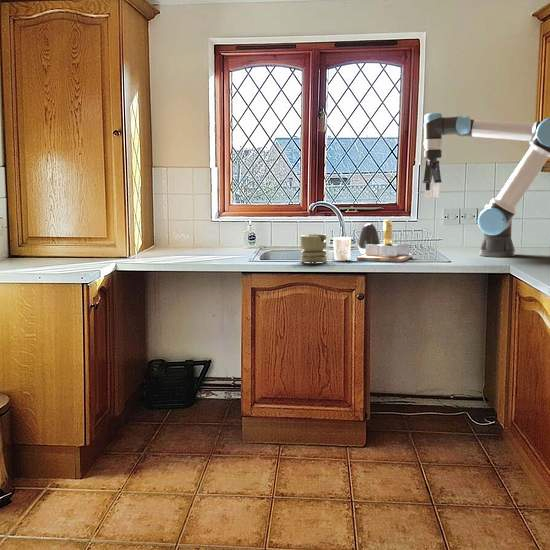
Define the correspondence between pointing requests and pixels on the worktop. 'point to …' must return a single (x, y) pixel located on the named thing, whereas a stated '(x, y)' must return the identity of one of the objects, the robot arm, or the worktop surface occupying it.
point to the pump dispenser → (368, 237)
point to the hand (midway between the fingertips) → (432, 197)
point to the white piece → (387, 250)
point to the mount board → (385, 258)
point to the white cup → (342, 248)
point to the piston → (313, 248)
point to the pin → (387, 232)
